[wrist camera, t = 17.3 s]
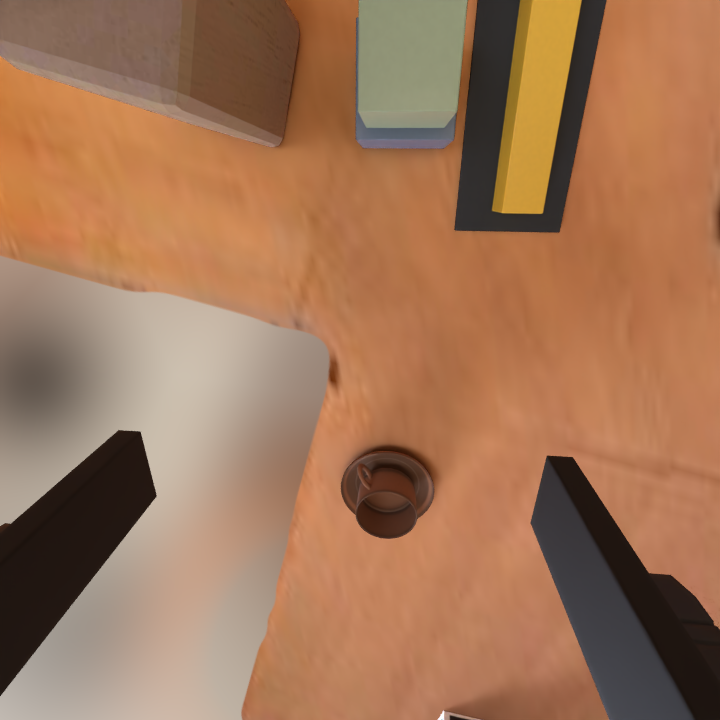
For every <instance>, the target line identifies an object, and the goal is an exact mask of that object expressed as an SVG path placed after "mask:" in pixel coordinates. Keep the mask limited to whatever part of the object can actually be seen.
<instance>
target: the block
mask: <svg viewBox="0 0 720 720" xmlns="http://www.w3.org/2000/svg"><path fill="white" fill-rule="evenodd" d="M299 36H300V32H299V26H298V22H297V20H296V19H295V17H294V15H293V13H292V12H291V10H290V8H289V7H288V5H287V3H286V2H285V0H0V56H1V57H2V58H4V59H5V60H6V61H8V62H9V63H10V64H12V65H13V66H14V67H16V68H17V69H19V70H22V71H25V72H29V73H32V74H35V75H38V76H41V77H44V78H47V79H51V80H54V81H57V82H60V83H63V84H66V85H69V86H73V87H76V88H79V89H82V90H85V91H88V92H91V93H95V94H98V95H101V96H104V97H107V98H110V99H113V100H117V101H120V102H123V103H126V104H129V105H132V106H135V107H139V108H142V109H145V110H148V111H151V112H154V113H157V114H161V115H164V116H167V117H170V118H173V119H176V120H179V121H183V122H186V123H189V124H192V125H196V126H199V127H203V128H206V129H210V130H213V131H216V132H220V133H223V134H227V135H230V136H234V137H237V138H240V139H244V140H247V141H251V142H254V143H258V144H261V145H264V146H268V147H276V146H279V145H280V143H281V141H282V139H283V136H284V129H285V123H286V117H287V111H288V104H289V98H290V92H291V86H292V79H293V73H294V67H295V61H296V54H297V48H298V42H299Z"/></svg>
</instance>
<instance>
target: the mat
mask: <svg viewBox="0 0 720 720" xmlns="http://www.w3.org/2000/svg"><path fill="white" fill-rule="evenodd" d="M605 4H606V0H582V2H581V7H580V13H579V18H578V24H577V29H576V35H575V40H574V46H573V51H572V57H571V62H570V67H569V73H568V78H567V84H566V89H565V95H564V100H563V106H562V111H561V117H560V122H559V128H558V133H557V139H556V144H555V149H554V155H553V160H552V166H551V171H550V177H549V182H548V188H547V193H546V199H545V204H544V210H543V213H542V214H524V213H500V212H495V211H492V206H493V199H494V192H495V184H496V177H497V169H498V162H499V154H500V147H501V139H502V132H503V124H504V117H505V110H506V102H507V95H508V87H509V80H510V72H511V65H512V57H513V50H514V42H515V35H516V28H517V20H518V13H519V5H520V0H478V3H477V13H476V23H475V33H474V43H473V53H472V63H471V73H470V83H469V93H468V102H467V112H466V122H465V132H464V142H463V152H462V162H461V172H460V182H459V192H458V202H457V212H456V221H455V230H457V231H511V232H560V227H561V222H562V217H563V212H564V207H565V202H566V197H567V192H568V187H569V182H570V177H571V172H572V167H573V162H574V158H575V153H576V148H577V143H578V138H579V133H580V128H581V123H582V118H583V113H584V108H585V103H586V98H587V93H588V88H589V83H590V78H591V74H592V69H593V64H594V59H595V54H596V49H597V44H598V39H599V34H600V29H601V24H602V19H603V14H604V9H605Z"/></svg>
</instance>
